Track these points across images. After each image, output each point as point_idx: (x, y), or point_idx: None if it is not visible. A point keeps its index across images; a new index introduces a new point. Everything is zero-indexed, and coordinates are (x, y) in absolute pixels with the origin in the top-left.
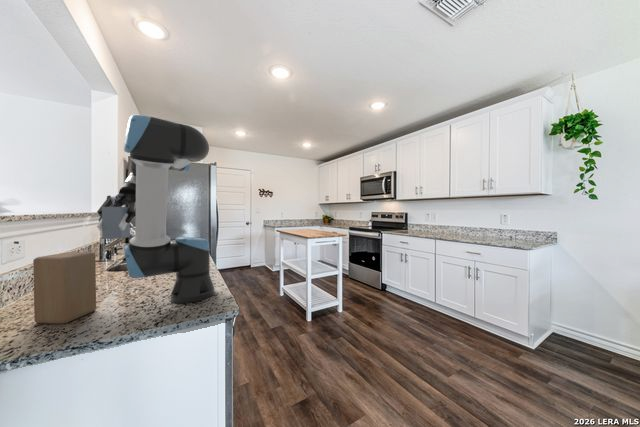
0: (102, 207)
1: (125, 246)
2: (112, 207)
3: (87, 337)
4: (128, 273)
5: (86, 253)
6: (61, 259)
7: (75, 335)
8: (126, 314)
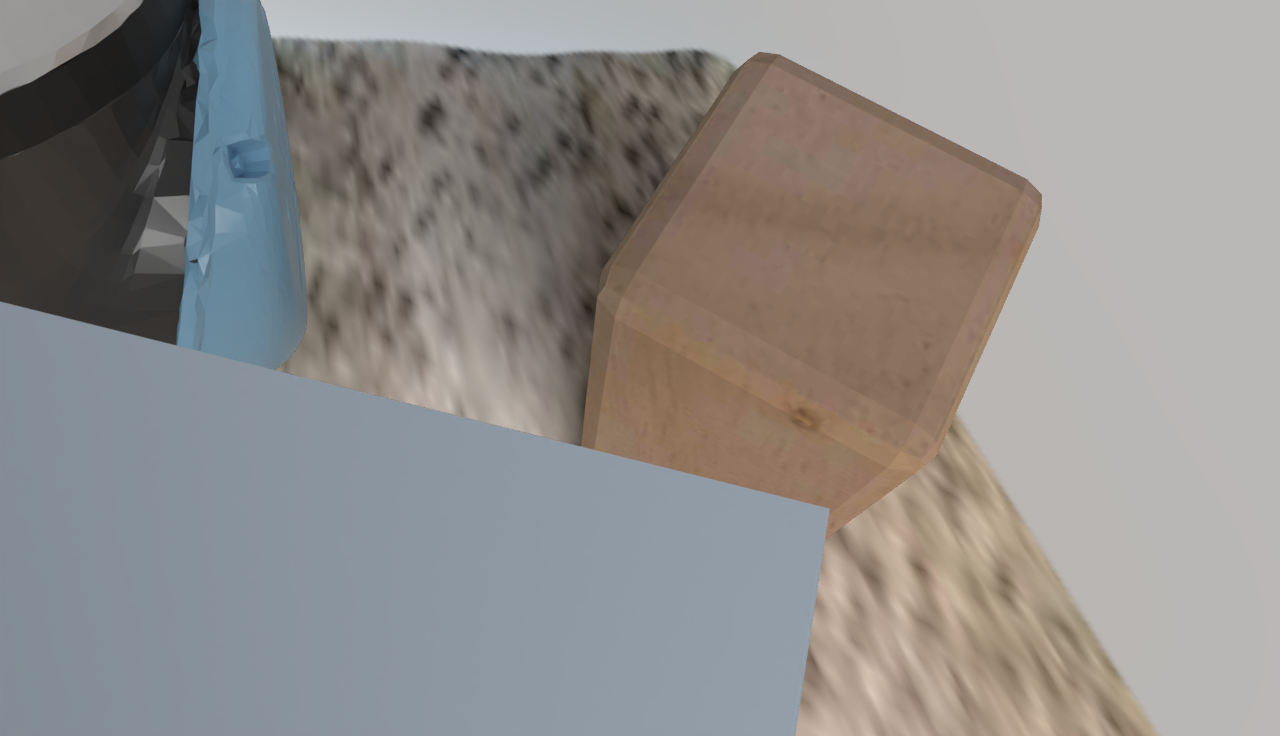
0: (789, 511)
1: (235, 8)
2: (337, 401)
3: (504, 103)
4: (292, 167)
5: (661, 221)
6: (775, 55)
7: (565, 151)
8: (375, 311)
